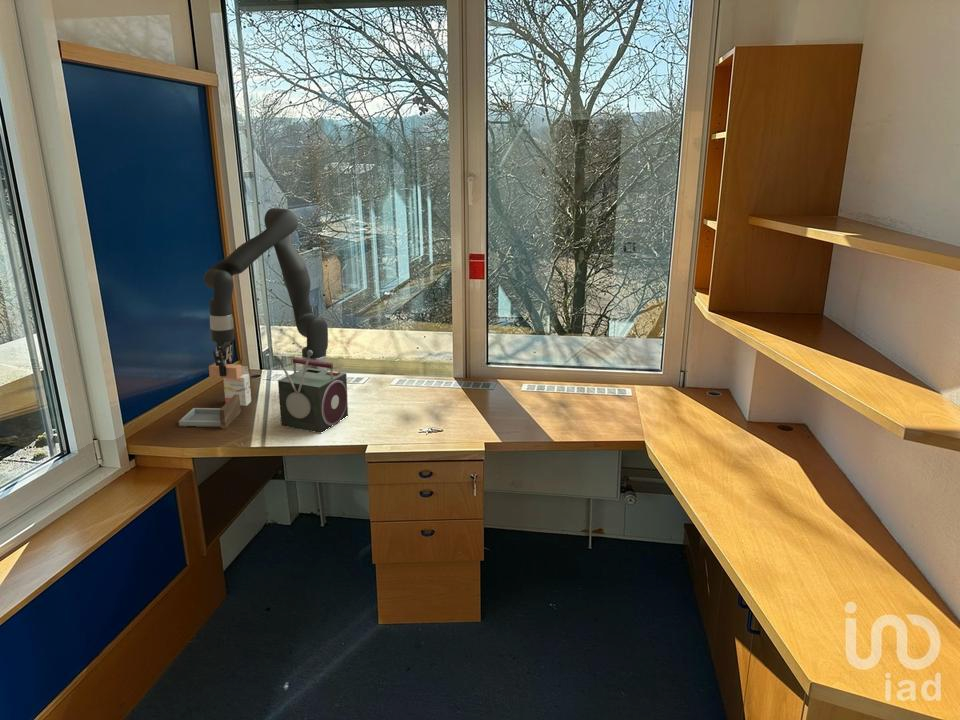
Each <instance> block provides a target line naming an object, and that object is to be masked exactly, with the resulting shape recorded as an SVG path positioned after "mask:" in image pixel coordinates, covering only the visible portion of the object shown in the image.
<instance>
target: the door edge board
mask: <svg viewBox="0 0 960 720" xmlns="http://www.w3.org/2000/svg"><path fill="white" fill-rule="evenodd" d="M220 408H221V409H220V410H219V412H220V422H221V427H220V428H221V430H223V429H225V430H226V429H227V428H228V427H229V426H230V425H231V423H233V421H234V420H235V419H236V418H237V417H238V416H239V415H240V413H241V412H242V411H241V406H240V397H239V394H235V395H234V396H233V397H232V398H231V399H230V400H229V401H228V402H227V403H226V404H224V405H222V407H220Z"/></svg>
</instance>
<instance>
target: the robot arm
mask: <svg viewBox="0 0 960 720" xmlns="http://www.w3.org/2000/svg"><path fill="white" fill-rule="evenodd" d="M263 221H264V227H265V229H264V230H263V231H262V232H260V233H259V234H258V235H256V236H253V237H252V238H250V239H249V240H247V241H245V242H243V243H242V244H241V245H239V246H237V248H236V249H234V250H233V252H231V253H230V254H229V255H227V257H225V258H223V259H222V260H220V261H219V262H217V263H216V264H214V265H212V266H211V267H210V268H209V269H207V270H206V272H205V273H204V277H203V282H204V284H205V286H206V287H208V288H209V289H211V290H213V297H212V298H210V300H209V301H208V302H209V307H208V308H209V315H210V316H209V327H210V338H211V341H212V342H214V343H216V346H215V350H213V357H214V363H216V366H219V373H220V376H222V377H225V376H226V375H227V373H226V364H232V360H233V358H234V340H235V328H234V317H233V314H232V313H233V312H232V300H233V299H232V298H233V292H234V280H233V276H235V275H240V274H241V273H243V272H245V271H246V270H247V269H248V268H249V267H250V266H251V265H252V264H253V263H254V262H256V261H257V260H258V259H259V258H260V257H261V256H262V255H263V254H265V253H266V252H267V251H268V250H270V249H272V247H273V248H274V250H275V255H276V257H277V260H278V264H279V267H280V271H281V274H282V278H283V281H284V284H285V286H286V290H287V293H288V296H289V300H290V302H291V306H292V311H293V315H294V316H293V317H294V321H295V325H296V329H297V331H298V334H299V335H301V337H305V338H306V346H304V347H303V348H302V349H301V358H302V359H307V357H308V355H307V351H308V350H311V351H312V352H313V354H312V355H311V356H310V358H309V360H315V361H322V362H327V350H328V348H329V347H328V346H329V326H328V323H327V321H326V320H325V318H322V317H321V316H319V315H315V314H314V311H313V308H312V306H311V302H310V293H311V279H310V274H309V271H308V267H307V265H306V262H305V261H304V259H303V258H302V256H301V254H299V252H298V250H297V249H296V247H295V245H294V244H293V242H292V239H291V234H293V233H294V232H295V231H296V230H297V229H298V226H299V219H298V216H297V214H296V213H295V212H294V211H292V210H291V209H287V208H279V207H278V208H277V207H276V208H275V207H272V208H269V209H267V211H266V212H265V215H264V220H263ZM304 367H305V364H302V369H304ZM307 367H308V368H315V369H322V370H328V368H324V367H318V366H311V365H307Z"/></svg>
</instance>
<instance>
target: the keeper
mask: <svg viewBox="0 0 960 720" xmlns="http://www.w3.org/2000/svg"><path fill="white" fill-rule="evenodd" d="M221 408H222V407H219V408H212V407H211V408H210V407H204V408H203V407H193V408H192V409H191V410H190V411H188V412H187V413H186V414H185V415H184V416H183V417H181V418H180V419H179V420H178V426H179V427H187V426H196V428H197V427H201V428H203V427H204V428H221V422H220V412H219V410H220V409H221Z"/></svg>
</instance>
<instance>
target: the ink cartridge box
mask: <svg viewBox="0 0 960 720" xmlns="http://www.w3.org/2000/svg"><path fill="white" fill-rule="evenodd" d="M241 367H242V376H241V377H239V378H238V379H229V378H222V379H223V391H224V400H225V404H226V403H227V402H228V401H229V400H230V399H231V398H232V397H233V396H234V395H235V394H239V397H240V407H247V406H248V405H249V404H250V403H251V402H252V393H251V380H250V379H251V378H250V373H249V367H248V366H245V365H244V366H243V365H241ZM225 404H224V405H225Z"/></svg>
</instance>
